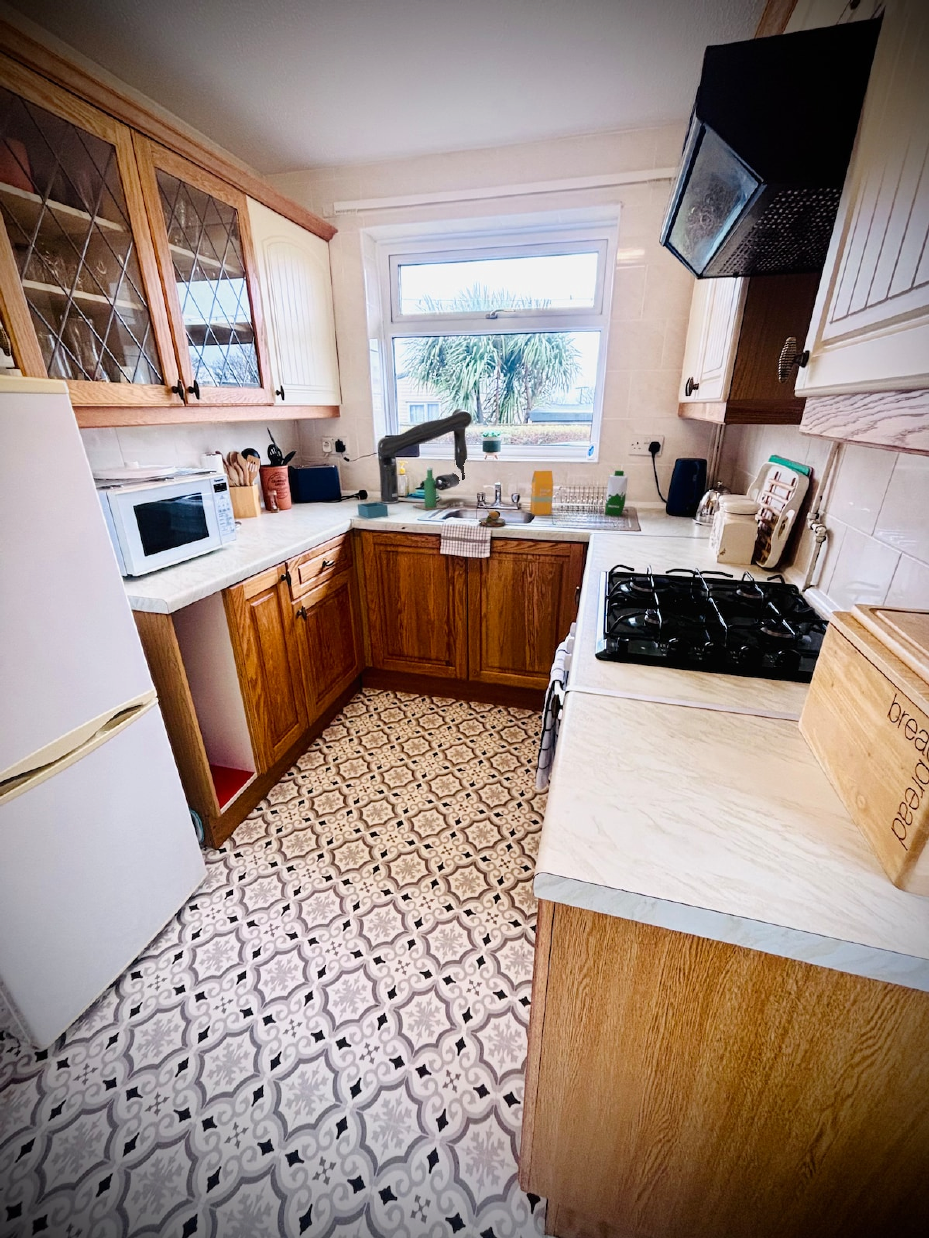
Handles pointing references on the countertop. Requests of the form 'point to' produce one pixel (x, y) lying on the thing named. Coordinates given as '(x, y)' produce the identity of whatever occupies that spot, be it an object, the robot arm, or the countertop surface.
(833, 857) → the countertop surface
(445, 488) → the robot arm
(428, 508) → the board
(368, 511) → the blue open box
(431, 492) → the bottle
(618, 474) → the milk carton
